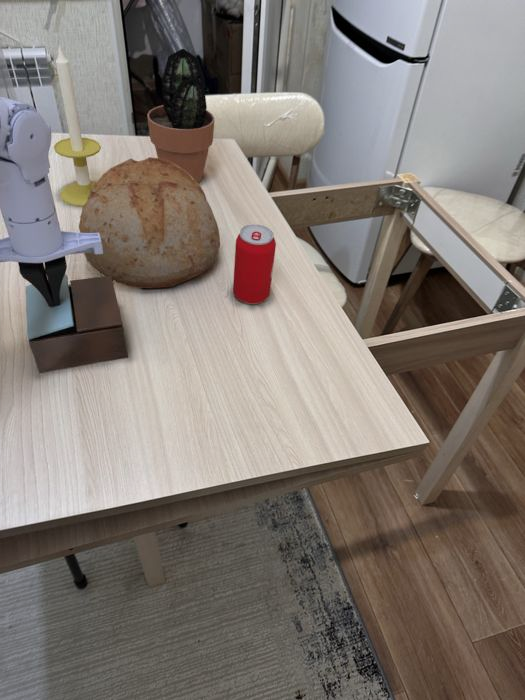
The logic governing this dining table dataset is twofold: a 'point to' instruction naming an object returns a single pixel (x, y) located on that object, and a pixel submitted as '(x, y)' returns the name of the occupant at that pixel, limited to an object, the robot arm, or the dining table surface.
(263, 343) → the dining table surface
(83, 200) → the candle
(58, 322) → the door
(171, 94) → the potted plant
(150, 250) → the bread
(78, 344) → the box
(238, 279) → the beverage can
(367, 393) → the dining table surface
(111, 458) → the dining table surface
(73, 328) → the block
